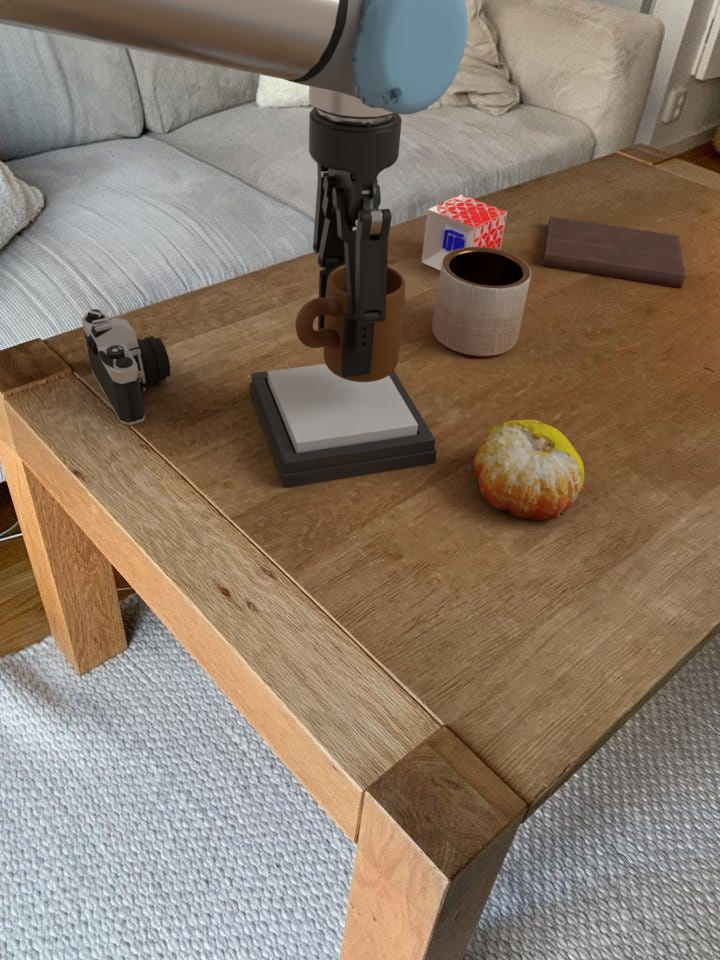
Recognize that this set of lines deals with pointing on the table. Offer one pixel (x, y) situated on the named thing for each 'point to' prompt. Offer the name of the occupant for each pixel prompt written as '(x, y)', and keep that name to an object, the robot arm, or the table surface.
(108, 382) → the camera
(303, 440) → the scale pan
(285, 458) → the scale
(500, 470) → the fruit
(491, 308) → the planter
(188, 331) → the table surface
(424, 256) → the red and white box
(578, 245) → the notebook
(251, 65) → the robot arm
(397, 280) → the mug
